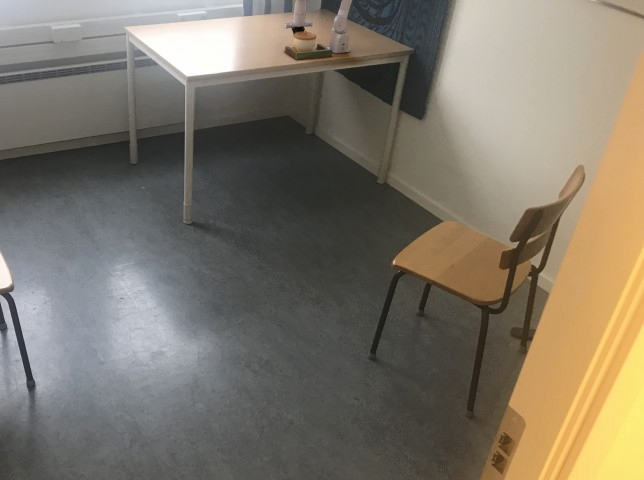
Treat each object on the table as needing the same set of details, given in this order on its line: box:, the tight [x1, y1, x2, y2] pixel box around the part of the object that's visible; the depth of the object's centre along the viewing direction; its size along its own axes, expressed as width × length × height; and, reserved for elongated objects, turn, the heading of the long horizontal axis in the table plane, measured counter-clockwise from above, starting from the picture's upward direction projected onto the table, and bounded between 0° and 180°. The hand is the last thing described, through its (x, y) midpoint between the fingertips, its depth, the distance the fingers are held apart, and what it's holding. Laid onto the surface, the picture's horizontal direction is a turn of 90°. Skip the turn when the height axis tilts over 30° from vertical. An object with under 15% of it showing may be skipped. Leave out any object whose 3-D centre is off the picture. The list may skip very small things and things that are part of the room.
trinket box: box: [293, 30, 317, 52], centre depth 340 cm, size 11×11×9 cm
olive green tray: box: [284, 43, 333, 61], centre depth 339 cm, size 12×19×3 cm, turn 111°
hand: (296, 42), depth 347 cm, fingers closed, pressing on trinket box
